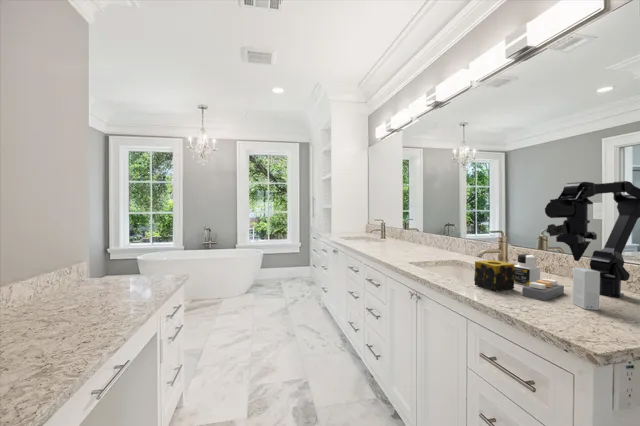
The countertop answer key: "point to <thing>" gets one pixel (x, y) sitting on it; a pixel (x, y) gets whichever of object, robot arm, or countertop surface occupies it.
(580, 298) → the skincare box
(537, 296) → the block
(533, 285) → the block
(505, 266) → the yellow and black cube
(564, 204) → the robot arm
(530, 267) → the medicine bottle
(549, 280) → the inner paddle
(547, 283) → the middle paddle
